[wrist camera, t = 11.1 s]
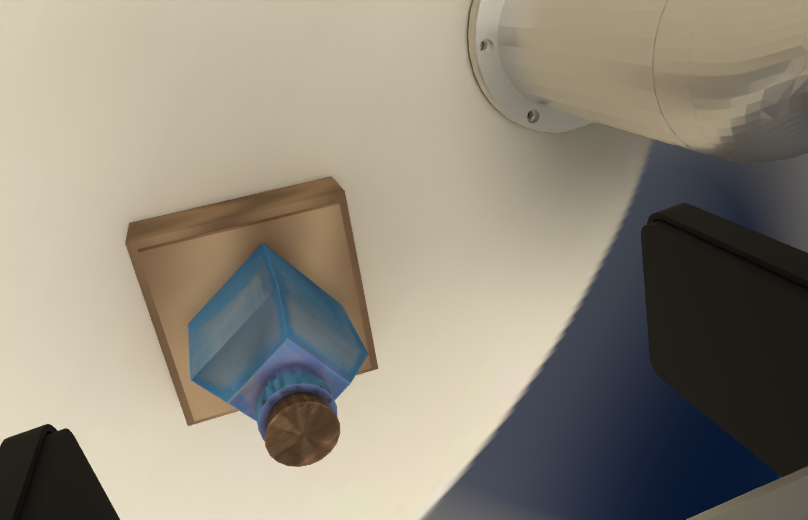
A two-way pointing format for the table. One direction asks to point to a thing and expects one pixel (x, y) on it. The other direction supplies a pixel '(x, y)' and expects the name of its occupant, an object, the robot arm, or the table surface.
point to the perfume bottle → (277, 355)
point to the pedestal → (225, 253)
